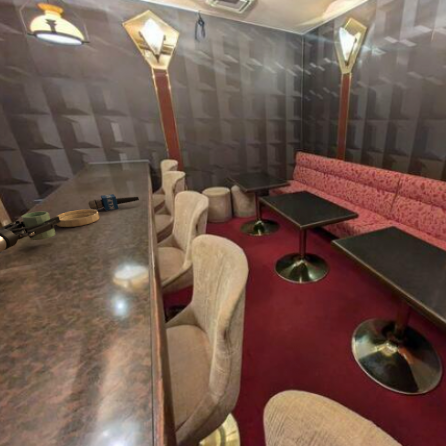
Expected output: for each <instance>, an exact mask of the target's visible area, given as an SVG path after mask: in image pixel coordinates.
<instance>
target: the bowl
mask: <svg viewBox="0 0 446 446" xmlns="http://www.w3.org/2000/svg"><path fill="white" fill-rule="evenodd" d="M56 216H59V219H60V222H59V223H57V224H56V225H57V227H62V228H63V227H64V228H73V227H81V226H86V225H90V224H93V223H94V222H97V221H99V219H100V218H101V217H100V213H99V211H98V209H91V208H89V209H88V208H87V209H78V210H77V209H76V210H71V211H70V210H69V211H66V212H63V213H59V214H56V215H55V216H54V217H56Z"/></svg>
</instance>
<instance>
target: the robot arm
mask: <svg viewBox="0 0 446 446" xmlns="http://www.w3.org/2000/svg"><path fill="white" fill-rule="evenodd" d="M55 216H56V217H55ZM55 216H54V217H51V218H50V219H49V220H47V221H45V223H42V224H38V225H35V226H31V227H25V225H24V223H23V220H21V221H20V220H15V221H14V222H15V223H14V222H10V223H8V224H6V225H3V226H2V227H0V253H3V252H4V251H6V250H8V249H10V248H12V247H14V246H16V245H17V243H18V241H19V240H22V239H24V238H26V237H29V239H30V238H33V237H35V236H36V235H39V234H41V233H44V232H46V231H49V230H51V229H54V230H55V225H57V223H59V222H60V219H59V216H57V215H55Z"/></svg>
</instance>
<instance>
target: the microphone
mask: <svg viewBox="0 0 446 446" xmlns="http://www.w3.org/2000/svg"><path fill="white" fill-rule="evenodd" d="M137 201H140V197H139V196H129V197H116V195H115V194H114V193H109V194H103V195H100V199H91V200H89V201H88V207H89V209H91V210H100V209H104V211H105V212H107V211H113V210H120V209H119V205H123V204H127V203H132V202H137Z"/></svg>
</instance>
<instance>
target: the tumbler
mask: <svg viewBox="0 0 446 446" xmlns="http://www.w3.org/2000/svg"><path fill="white" fill-rule="evenodd" d="M20 217H21V221H23V223H24V225H25V227H31V226H35V225H38V224H42V223H45V221H47V220H49V219H51V216H50V213H49V211H44V210H43V211H42V210H41V211H33V212H28V213H24V214H22V215H21V216H20ZM56 234H57V233H56V230H55V228H54V229H51V230H49V231H46V232H44V233H41V234H39V235H36V236H35V237H33V238H30V237H29V240H31V241H41V240H46V239H49V238H52V237H55V236H56Z"/></svg>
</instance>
